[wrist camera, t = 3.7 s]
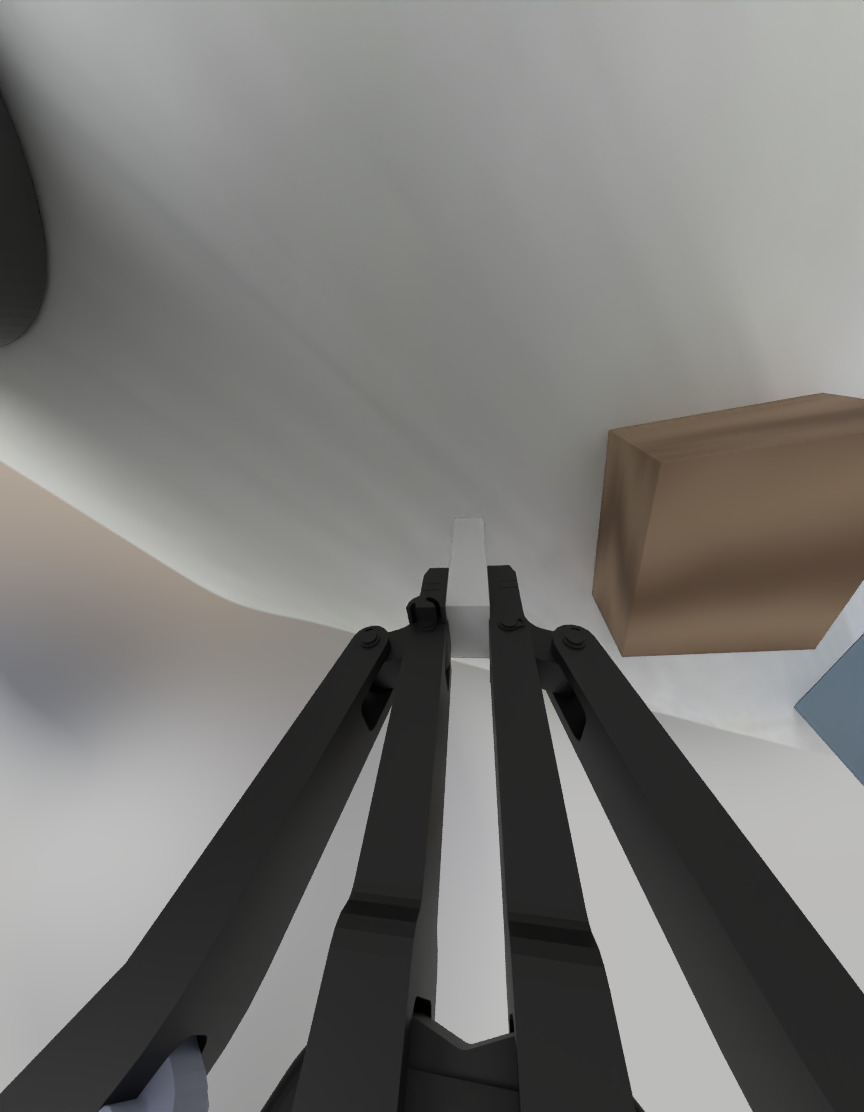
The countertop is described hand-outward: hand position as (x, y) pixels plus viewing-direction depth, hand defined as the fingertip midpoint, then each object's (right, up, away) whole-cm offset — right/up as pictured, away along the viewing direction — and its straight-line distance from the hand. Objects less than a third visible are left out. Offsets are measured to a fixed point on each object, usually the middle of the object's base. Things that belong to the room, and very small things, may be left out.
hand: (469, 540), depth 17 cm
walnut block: (+11, +1, 0) cm, 11 cm away
